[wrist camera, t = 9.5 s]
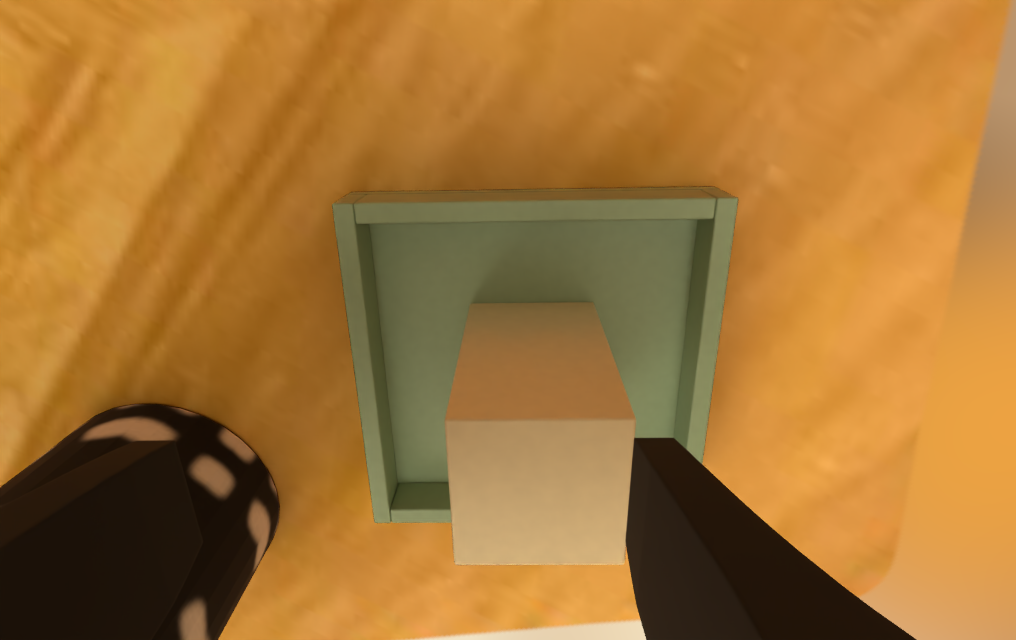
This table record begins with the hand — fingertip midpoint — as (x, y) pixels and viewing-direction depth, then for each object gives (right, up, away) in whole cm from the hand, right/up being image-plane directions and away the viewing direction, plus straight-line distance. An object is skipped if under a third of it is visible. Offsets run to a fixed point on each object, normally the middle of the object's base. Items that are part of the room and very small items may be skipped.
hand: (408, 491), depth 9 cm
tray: (+2, +2, +10) cm, 11 cm away
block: (+2, +1, +10) cm, 10 cm away
